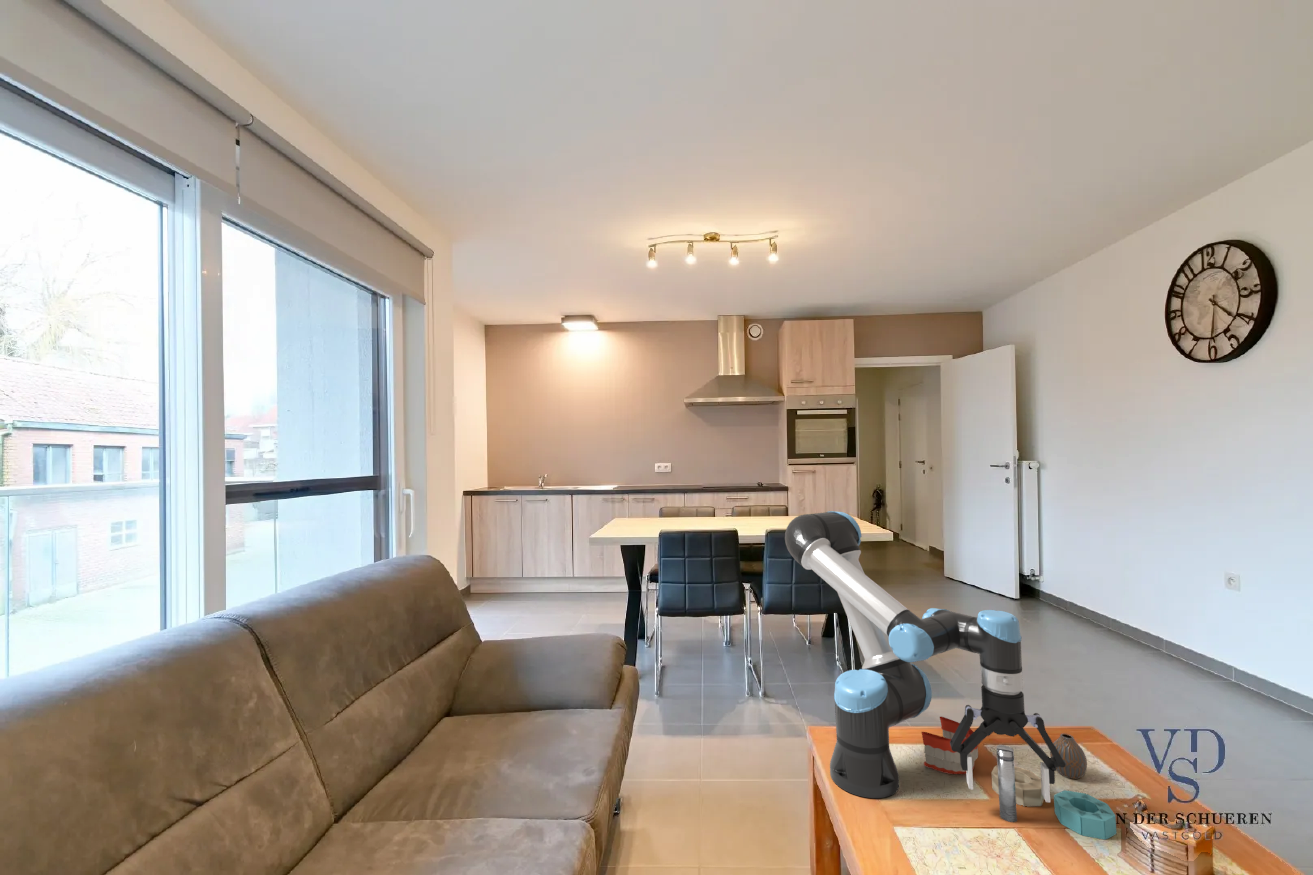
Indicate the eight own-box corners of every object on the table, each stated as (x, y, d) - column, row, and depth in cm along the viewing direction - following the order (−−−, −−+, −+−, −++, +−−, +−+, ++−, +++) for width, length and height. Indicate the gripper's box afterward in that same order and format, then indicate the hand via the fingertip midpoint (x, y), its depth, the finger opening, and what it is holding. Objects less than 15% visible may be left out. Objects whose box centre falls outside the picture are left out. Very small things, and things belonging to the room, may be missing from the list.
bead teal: (1065, 832, 108) (1064, 814, 108) (1050, 804, 116) (1049, 787, 116) (1122, 842, 104) (1121, 824, 105) (1102, 813, 113) (1101, 795, 113)
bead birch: (1011, 806, 116) (1011, 790, 116) (984, 781, 125) (983, 765, 125) (1053, 805, 116) (1053, 788, 116) (1023, 779, 125) (1022, 764, 125)
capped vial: (1001, 820, 112) (998, 751, 112) (997, 811, 114) (994, 743, 115) (1019, 823, 110) (1015, 753, 111) (1015, 814, 113) (1011, 745, 114)
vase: (1094, 783, 123) (1092, 744, 123) (1060, 781, 124) (1058, 742, 125) (1077, 766, 130) (1075, 729, 130) (1045, 764, 131) (1043, 727, 131)
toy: (968, 784, 124) (966, 749, 124) (921, 766, 132) (920, 732, 132) (987, 763, 132) (985, 730, 133) (942, 747, 140) (940, 715, 140)
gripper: (937, 687, 114) (942, 790, 114) (1080, 703, 106) (1087, 815, 105) (933, 674, 121) (937, 771, 121) (1067, 688, 113) (1072, 792, 112)
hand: (1007, 791), depth 113 cm, fingers open, 13 cm apart
